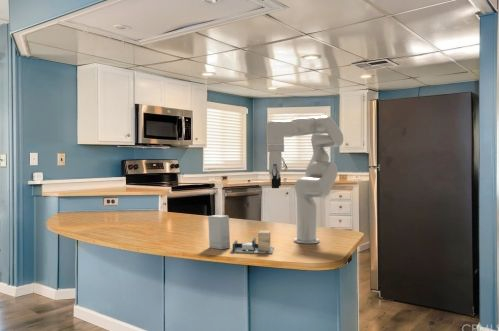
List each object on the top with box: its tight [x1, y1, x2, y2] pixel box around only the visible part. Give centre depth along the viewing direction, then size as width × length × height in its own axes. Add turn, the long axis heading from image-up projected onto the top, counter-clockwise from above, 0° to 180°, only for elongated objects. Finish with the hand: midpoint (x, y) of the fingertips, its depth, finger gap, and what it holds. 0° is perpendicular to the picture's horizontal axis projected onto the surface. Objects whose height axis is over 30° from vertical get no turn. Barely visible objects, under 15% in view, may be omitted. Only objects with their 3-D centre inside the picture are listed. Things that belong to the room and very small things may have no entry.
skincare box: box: [207, 214, 231, 250], centre depth 195 cm, size 8×6×15 cm
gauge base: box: [230, 240, 275, 255], centre depth 190 cm, size 12×18×4 cm, turn 83°
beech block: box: [257, 230, 271, 251], centre depth 189 cm, size 5×5×8 cm
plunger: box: [242, 237, 257, 251], centre depth 189 cm, size 9×6×4 cm, turn 173°
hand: (276, 187), depth 190 cm, fingers open, 9 cm apart
